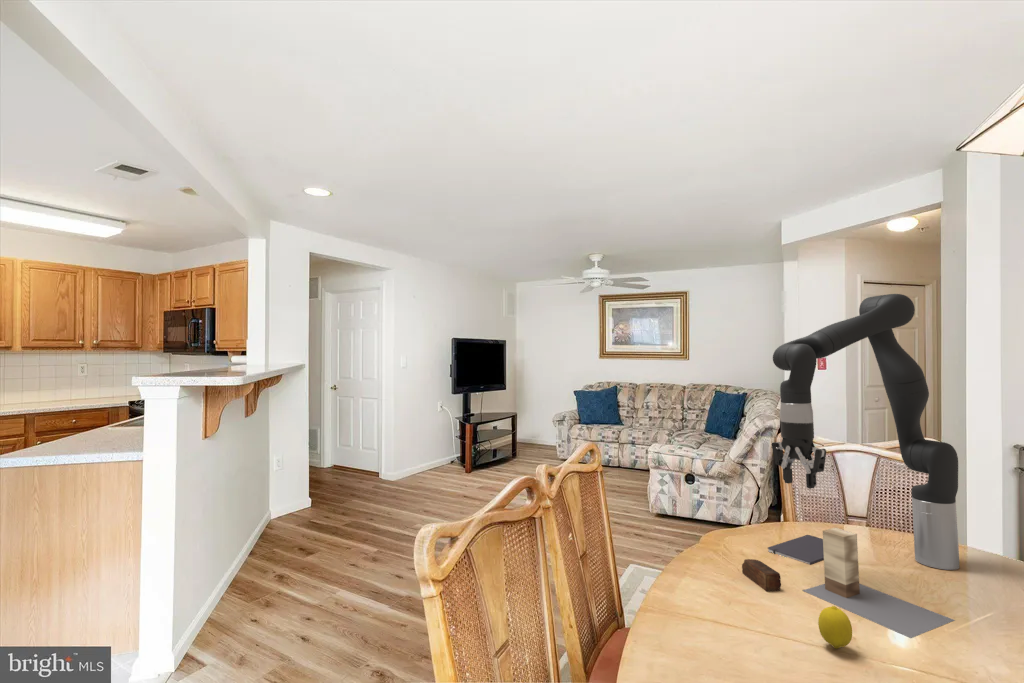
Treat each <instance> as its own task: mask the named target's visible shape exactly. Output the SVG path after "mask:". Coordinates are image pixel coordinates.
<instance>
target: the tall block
mask: <svg viewBox="0 0 1024 683" xmlns="http://www.w3.org/2000/svg"><path fill="white" fill-rule="evenodd" d="M822 539H823V551H824V560H823V571H824V584H825V589H826V590H828V591H830V592H833V593H835V594H838V595H840V596H842V597H845V598H848V597H851V596H854V595H857V594H860V588H859V584H860V573H859V572H860V570H859V550H858V549H859V547H858V533H855V532H852V531H848V530H845V529H841V528H839V527H832V528H828V529H824V530H822Z"/></svg>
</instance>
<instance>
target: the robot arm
mask: <svg viewBox="0 0 1024 683" xmlns="http://www.w3.org/2000/svg"><path fill="white" fill-rule="evenodd" d="M915 309H916V308H915V305H914V302H913V300H912V299H911V298H910V297H909V296H907V295H905V294H902V293H890V294H882V295H874V296H868V297H866V298H864V299H863V300H862V301H861V303H860V305H859V307H858V313H859V314H858V315H856V316H854V317H851V318H850V317H849V318H847V319H844V320H840V321H837V322H834V323H832V324H828V325H826V326H825V327H822V328H820V329H818V330H815V331H814V332H812V333H811V334H808V335H806V336H802V337H800V338H797V339H793V340H790V341H788V342H785V343H783V344H781V345H779V346H778V347H777V348H776V349H775V350H774V352H773V355H772V363H773V364H774V366H775V367H777V368H778V369H779V370H782V371H787V372H788V371H789V376H788V379H787V380H783V381H782V382H781V383H780V387H779V392H780V393H779V394H780V395H779V396H780V409H779V417H780V418H779V419H780V421H779V422H780V436H781V438H782V439H781V441H774V442H771V448H772V454H773V458H774V463H775V465H776V466H780V467H781V469H782V479H783V481H784V483H785V484H792V483H793V482H794V480H793V468H792V465H793V464H794V462H795V461H796V460H798V461H800V463H801V465H802V466H803V467H804V469H805V471H806V473H805V480H806V482H805V483H806V488H807V489H809V490H810V489H815V488H816V486H817V473H822V472H824V471H825V465H826V457H827V449H825V448H819V447H816V445H815V444H814V438H815V430H814V429H815V428H814V410H813V406H812V390H811V389H812V388H811V387H812V383H813V380H814V377H815V372H816V371H815V370H816V368H817V359H823V358H826V357H829V356H831V355H833V354H834V353H836V352H838V351H841V350H842V349H844V348H847V347H849V346H852V344H856V343H857V342H860V341H862V340H864V339H866V338H867V339H868V341H869V343H870V346H871V347H872V351H873V353H874V357H875V360H876V362H877V365H878V369H879V372H880V375H881V379H882V384H883V387H884V390H885V393H886V395H887V399H888V401H889V405H890V408H891V412H892V416H893V419H894V424H895V428H896V434H897V439H898V444H899V445H898V447H899V450H900V454H901V455H900V456H901V458H902V459H901V460H902V461H903V463H904V465H905V467H907V468H908V469H909V470H911V471H913V472H918V473H922V474H927V475H928V478H927V479H928V480H927V482H926V483H925V484H924V483H923V484H916V485H913V486H912V487H911V507H912V508H911V509H912V525H913V527H912V528H913V542H914V543H913V545H914V546H913V548H914V561H916V562H917V563H919V564H921V565H924V566H927V567H930V568H934V569H940V570H946V571H947V570H948V571H949V570H951V571H955V570H958V569H960V548H959V547H960V546H959V532H958V517H957V516H958V515H957V501H956V497H957V494H958V491H959V457H958V453H957V451H956V448H954V446H953V445H952V444H950V443H948V442H945V441H938V440H931V439H926V438H925V437H924V435H923V430H922V426H921V419H922V414H923V412H924V410H925V407H926V406H927V403H928V401H929V397H930V393H929V386H928V384H927V379H926V376H925V374H924V371H923V369H922V367H921V366H920V365H919V364H918V362H916V360H915V359H914V358H913V357H912V356H911V355H910V354H909V353H908V352H907V351H906V350H905V349H904V348H903V347H902V346H901V345H900V343H899V342H898V340H897V338H896V337H895V333H894V330H893V329H896V328H900V327H903V326H905V325H907V324H908V323H910V322H911V321H912V319H913V317H914V315H915V312H916V310H915Z"/></svg>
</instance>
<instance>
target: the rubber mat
mask: <svg viewBox="0 0 1024 683" xmlns="http://www.w3.org/2000/svg"><path fill="white" fill-rule="evenodd" d="M859 588H860V594H857V595H854V596H851V597H848V598H845V597H842V596H840V595H838V594H835V593H833V592H830V591H828V590H826V589H825V583H822V584H819V585H815V586H813V587H809V588H805V589H802V592H804V593H807V594H809V595H812V596H814V597H816V598H818V599H820V600H823V601H825V602H827V603H829V604H831V605H833V606H836V607H837V608H838V607H839V609H840V608H841V609H843V610H845V611H848V612H850V613H851V614H854V615H856V616H859V617H861V618H863V619H866V620H868V621H869V622H870V621H871V622H872V623H874V624H877V625H880V626H881V627H884V628H887V629H889V630H891V631H894V632H896V633H897V634H900V635H902V636H905V637H907V638H909V639H913V638H914V637H918V636H920V635H923V634H926V633H928V632H930V631H932V630H935V629H937V628H939V627H942V626H944V625H948V624H949V623H952V622H955V621H956V619H953V618H950V617H949V616H945V615H943V614H939V613H938V612H935V611H933V610H930V609H927V608H924V607H921V606H920V605H917V604H914V603H911V602H909V601H907V600H903V599H901V598H898V597H896V596H893V595H891V594H888V593H885V592H882V591H881V590H878V589H875V588H872V587H869V586H867V585H864V584H862V583H859Z"/></svg>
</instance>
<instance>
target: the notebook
mask: <svg viewBox="0 0 1024 683" xmlns="http://www.w3.org/2000/svg"><path fill="white" fill-rule="evenodd" d="M767 550H768V552H769V553H771V552H772V554H773V553H774V555H776V554H778V556H779V555H781V556H780V557H782V556H784V557H783V558H785V557H786V558H790V559H792V560H796V561H799V562H802V563H803V564H808V565H813V564H817V563H819V562H822V561H824V551H823V538H820V537H819V536H818V537H817V536H814V535H811V534H806V535H805V534H804V535H802V536H799V537H796V538H792V539H789V540H787V541H784V542H781V543H777V544H775V545H772V546H768V547H767Z"/></svg>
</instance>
